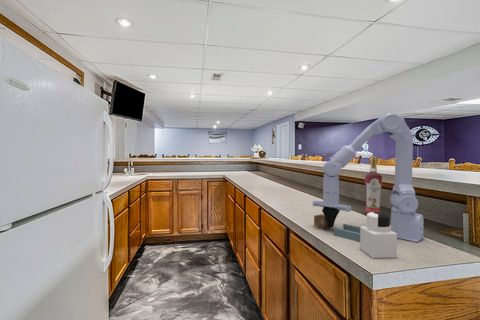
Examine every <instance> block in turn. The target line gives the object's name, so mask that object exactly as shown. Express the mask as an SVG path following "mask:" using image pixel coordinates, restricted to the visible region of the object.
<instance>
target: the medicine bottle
mask: <svg viewBox="0 0 480 320" xmlns="http://www.w3.org/2000/svg"><path fill="white" fill-rule="evenodd" d="M359 227H360V242H359V248H360V249H359V250H361V251H363V252H364V253H365V254H367V255H368V256H369V257H371V258H372V259H396V258H397V256H398V255H397V254H398V253H397V251H398V249H397V248H398V238H397V233H395V232H393V231H391V215H389V214H387V213H384V212H381V211H380V212H370V213H368V214H366V226H365V225H364V226H363V225H361V226H359Z"/></svg>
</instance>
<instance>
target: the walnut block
mask: <svg viewBox="0 0 480 320" xmlns="http://www.w3.org/2000/svg"><path fill="white" fill-rule="evenodd" d="M313 227H315V228H317V229H320V230H323V231H324V230H328V229H329V230H330V228H329V227H328V225H327V221H326V218H325V215H324V214H323V213H320V214H315V215H314V216H313Z"/></svg>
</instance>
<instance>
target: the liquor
mask: <svg viewBox="0 0 480 320" xmlns="http://www.w3.org/2000/svg"><path fill="white" fill-rule="evenodd" d="M377 160H378V158H377V156H370V168H369V172H368V173H366V174H365V175H364V192H365V211H364V213H365V214H366V215H367V214H368V213H370V212H381V196H382V187H383V186H382V184H383V176H382V175H381V174H380V173H378V171H377V170H378V169H377Z"/></svg>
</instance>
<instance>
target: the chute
mask: <svg viewBox="0 0 480 320" xmlns="http://www.w3.org/2000/svg"><path fill="white" fill-rule="evenodd" d="M342 226H343V227H342V228H339V227H333V236H337V237H339V238H344V239H348V240H351V241H356V242H359V243H360V227H361V226H357V225H352V224H347V223H343V224H342Z"/></svg>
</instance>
